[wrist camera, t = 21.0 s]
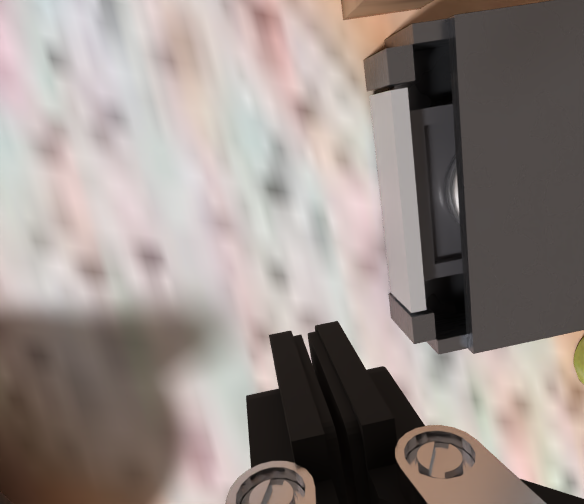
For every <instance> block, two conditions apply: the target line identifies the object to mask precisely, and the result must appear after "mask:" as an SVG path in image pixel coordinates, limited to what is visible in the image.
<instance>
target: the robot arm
mask: <svg viewBox="0 0 584 504" xmlns="http://www.w3.org/2000/svg"><path fill="white" fill-rule="evenodd" d="M269 338H270V343H271V349H272V354H273V359H274V365H275V370H276V375H277V381H278V386H279V389H275V390H270V391H266V392H261V393H257V394H252V395H247V396H246V402H247V416H248V430H249V444H250V458H251V469H249V470H247V471H246V472H245V473H243V474H242V475H241V476H239V477H238V478H237V480H236V481H235V482H234V484H233V485H232V486H231V488H230V490H229V493H228V495H227V498H226V503H225V504H584V499H582V498H579V497H576V496H573V495H569V494H566V493H563V492H560V491H557V490H554V489H551V488H547V487H544V486H541V485H538V484H535V483H532V482H528V481H525V480H522V479H519V478H518V477H517V476H516V475H515V474H513V473H512V472H511V471H510V470H509V469H508V468H507V467H506V466H505V465H504V464H503V463H501V462H500V461H499V460H498V459H497V458H496V457H495V456H494V455H493V454H492V453H491V452H489V451H488V450H487V449H486V448H485V447H484V446H483V445H482V444H481V443H480V442H479V441H477V440H476V439H475V438H474V437H472V436H471V435H469V434H468V433H466V432H464V431H461V430H459V429H456V428H453V427H448V426H442V425H428V426H425V425H424V424H423V422H422V421H421V419H420V418H419V416H418V415H417V413H416V412H415V410H414V409H413V407H412V406H411V404H410V403H409V401H408V400H407V398H406V397H405V395H404V394H403V392H402V391H401V390H400V388H399V387H398V385H397V384H396V382H395V381H394V379H393V378H392V376H391V375H390V373H389V372H388V370H387V369H386V368H385V367H383V366H382V367H377V368H373V369H368V370H366V369H365V367H364V365H363V364H362V362H361V360H360V358H359V357H358V355H357V353H356V352H355V350H354V348H353V346H352V345H351V343H350V341H349V340H348V338H347V336H346V334H345V333H344V331H343V329H342V328H341V326H340V324H339V322H338V321H335V322H330V323H325V324H321V325H316V326H315V332H311V333H308V341H309V347H310V353H311V359H312V363H311V360H310V358H309V355H308V352H307V349H306V347H305V344H304V341H303V338H302V336H301V335H297V336H293V335H292V332H291V331H286V332H281V333H277V334H272V335H269ZM312 365H313V366H312Z"/></svg>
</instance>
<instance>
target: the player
mask: <svg viewBox="0 0 584 504" xmlns="http://www.w3.org/2000/svg"><path fill="white" fill-rule="evenodd" d="M364 69H365V79H366V88H367V91H372V90H378V89H385V88H389V91H390V90H396V89H402V88H408V99H409V110H415V109H421V108H428V107H434V106H440V105H446V104H452V103H453V119H454V135H455V152H456V168H457V185H458V201H459V218H460V234H461V251H462V267H463V273H460V274H455V275H450V276H445V277H440V278H435V279H430V280H425V281H424V287H425V299H426V310H424V311H419V312H414V313H411V312H410V311H409V310H408V309H407V308H406V307H405V306H404V305H403V304H402V303H401V302H400V301H399V300H398V299H397V298H396V297H395V296H394V295H393V294H389V302H390V311H391V318H392V319H393V321H394V322H395V323H396V324H397V325H398V326H399V327H400V328H401V330H402V331H403V332H404V333H405V334H406V335H407V336H408V338H409V339H410V340H411V341H412V342H413V343H414V344H417V343H421V342H427V343H428V344H429V345H430V346H431V347H432V348H433V349H434V350H435V351H436V352H437V353H438V354H443V353H447V352H452V351H457V350H461V349H466V348H468V349H469V350H470V351H471V352H472V353H473V354H475V353H479V352H484V351H489V350H493V349H498V348H502V347H507V346H512V345H516V344H521V343H525V342H530V341H535V340H539V339H544V338H549V337H553V336H558V335H562V334H567V333H572V332H576V331H581V330H584V0H553V1H546V2H540V3H533V4H526V5H519V6H513V7H506V8H499V9H492V10H485V11H479V12H472V13H465V14H458V15H454V16H452V17H450V18H448V19H442V20H435V21H428V22H421V23H415V24H411V25H409V26H408V27H406V28H404V29H403V30H401V31H399V32H397V33H396V34H394V35H392V36H391V37H389V38H387V39H385V49H384V50H382V51H380V52H378V53H376V54H374V55H373V56H371V57H369V58H367V59H365V60H364Z"/></svg>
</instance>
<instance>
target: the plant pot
mask: <svg viewBox="0 0 584 504" xmlns="http://www.w3.org/2000/svg"><path fill="white" fill-rule="evenodd" d="M574 367H575V369H576V372H577V375H578V378H579V380H580V381H581V382H582V383H583V384H584V337H583V338H582V340H581V341H580V342H579V344H578V346H577V349H576V351H575V355H574Z"/></svg>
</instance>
